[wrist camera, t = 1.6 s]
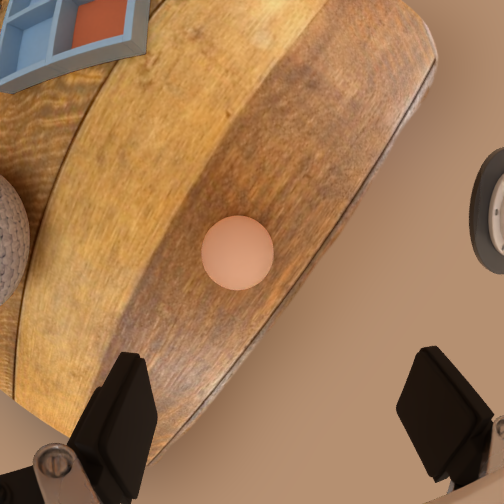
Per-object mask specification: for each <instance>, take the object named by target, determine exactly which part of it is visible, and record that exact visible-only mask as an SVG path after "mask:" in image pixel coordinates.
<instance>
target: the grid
mask: <svg viewBox="0 0 504 504" xmlns="http://www.w3.org/2000/svg"><path fill="white" fill-rule="evenodd" d="M149 9H150V0H10V1H9V4H8V7H7V11H6V14H5V18H4V21H3V25H2V29H1V33H0V92H4V93H10V94H14V93H16V92H19V91H21V90H23V89H26V88H28V87H31V86H33V85H36V84H38V83H41V82H44V81H47V80H49V79H52V78H55V77H58V76H61V75H64V74H67V73H70V72H73V71H77V70H80V69H83V68H87V67H90V66H94V65H98V64H102V63H106V62H110V61H114V60H119V59H123V58H128V57H133V56H138V55H143V54H146V43H147V30H148V19H149Z"/></svg>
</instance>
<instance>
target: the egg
mask: <svg viewBox="0 0 504 504" xmlns="http://www.w3.org/2000/svg"><path fill="white" fill-rule="evenodd" d="M201 254H202V262H203V266H204V269H205V271H206V272H207V274H208V275H209V276H210V278H211V279H212V280H213V281H214V282H216V283H217V284H218V285H220V286H222V287H224V288H227V289H231V290H243V289H248V288H250V287H253V286H255V285H256V284H258V283H259V282H261V281H262V280H263V279H264V278H265V276H266V275H267V274H268V272H269V270H270V268H271V265H272V262H273V254H274V249H273V243H272V240H271V238H270V235H269V233H268V232H267V230H266V229H265V228H264V227H263V226H262V225H261V224H260V223H259V222H257V221H256V220H254V219H251V218H249V217H246V216H230V217H226V218H224V219H222V220H220V221H218V222H217V223H216V224H214V225H213V226H212V227H211V228H210V229H209V231H208V232H207V234H206V236H205V238H204V241H203V244H202V250H201Z"/></svg>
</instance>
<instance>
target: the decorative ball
mask: <svg viewBox="0 0 504 504" xmlns="http://www.w3.org/2000/svg"><path fill="white" fill-rule="evenodd" d="M29 247H30V230H29V222H28V218H27V214H26V211H25V208H24V205H23V203H22V201H21V199H20V197H19V195H18V193H17V192H16V190H15V189H14V188H13V186H12V185H11V184H10V183H9V182H8V181H7V180H6V179H5V178H4V177H3V176H2V175H0V306H1V305H2V304H3V303H4V302H5V301H7V299H8V298H9V297H10V296H11V295H12V294H13V292H14V291H15V289H16V288H17V286H18V284H19V283H20V280H21V278H22V276H23V274H24V271H25V268H26V264H27V260H28V255H29Z"/></svg>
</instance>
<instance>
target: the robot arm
mask: <svg viewBox="0 0 504 504" xmlns="http://www.w3.org/2000/svg"><path fill="white" fill-rule="evenodd" d="M488 224H489V233H490V238H491V241H492V243H493V245H494V247H495V249H496V250H497V251H498V252H499V253H500V254H502V255H504V173H503V174H502V175H501V177H500V178H499V180H498V181H497V183H496V185H495V187H494V190H493V193H492V196H491V200H490V205H489V215H488ZM396 411H397V414H398V416H399V418H400V420H401V422H402V424H403V426H404V427H405V429H406V431H407V433H408V435H409V437H410V439H411V441H412V443H413V445H414V447H415V449H416V451H417V453H418V455H419V457H420V459H421V461H422V463H423V465H424V467H425V469H426V471H427V473H428V475H429V476H430V477H433V479H434V481H435V483H437V482H439V481H442V480H444V479H447V478H448V477H449V476H450V479H451V482H450V486H449V489H448V492H447V494H446V495H444V496H441V497H439V498H437V499H434V500H432V501H429V502H426V503H424V504H504V416H500V417H498V418H496V420H495V421H494V422H492V420H491V419H492V417H493V416H494V413H493V412H492V411H491V410H490V408H489V407H488V406H487V404H486V403H485V402H484V401H483V399H482V398H481V397H480V396H479V394H478V393H477V392H476V391H475V390H474V388H473V387H472V386H471V385H470V384H469V382H468V381H467V380H466V379H465V378H464V376H462V374H461V373H460V372H459V371H458V369H457V368H456V367H455V366H454V365H453V364H452V363H451V361H450V360H449V359H448V358H447V357H446V356H445V355H444V353H442V351H441V350H440V349H439V348H438V347H437V346H430V347H424V348H421V350H420V351H419V352H418V353H417V354H416V356H415V359H414V362H413V365H412V367H411V370H410V373H409V375H408V378H407V381H406V383H405V386H404V388H403V391H402V393H401V396H400V398H399V400H398V403H397V405H396ZM157 418H158V416H157V410H156V406H155V402H154V398H153V394H152V390H151V385H150V381H149V376H148V371H147V367H146V362H145V359H144V358H140V355H139V354H138V353H129V352H121V353H120V355H119V357H118V358H117V360H116V362H115V364H114V366H113V367H112V369H111V371H110V373H109V375H108V377H107V378H106V380H105V382H104V384H103V386H102V387H100V386H99V387H97V388H96V390H95V391H94V393H93V395H92V397H91V399H90V400H89V402H88V404H87V406H86V408H85V410H84V412H83V414H82V415H81V417H80V419H79V421H78V423H77V425H76V427H75V429H74V431H73V433H72V435H71V437H70V439H69V441H68V443H67V445H64V444H60V443H51V444H47V445H45V446H43V447H41V448H40V449H39V450H38V451H37V452H36V454H35V455H34V459H33V465H32V466H30V467H26V468H23V469H20V470H17V471H13V472H10V473H6V474H3V475H0V504H120V503H121V504H131V501H132V499H137V496H138V493H139V490H140V485H141V481H142V477H143V473H144V470H145V466H146V462H147V458H148V454H149V450H150V447H151V443H152V439H153V435H154V432H155V428H156V424H157Z"/></svg>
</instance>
